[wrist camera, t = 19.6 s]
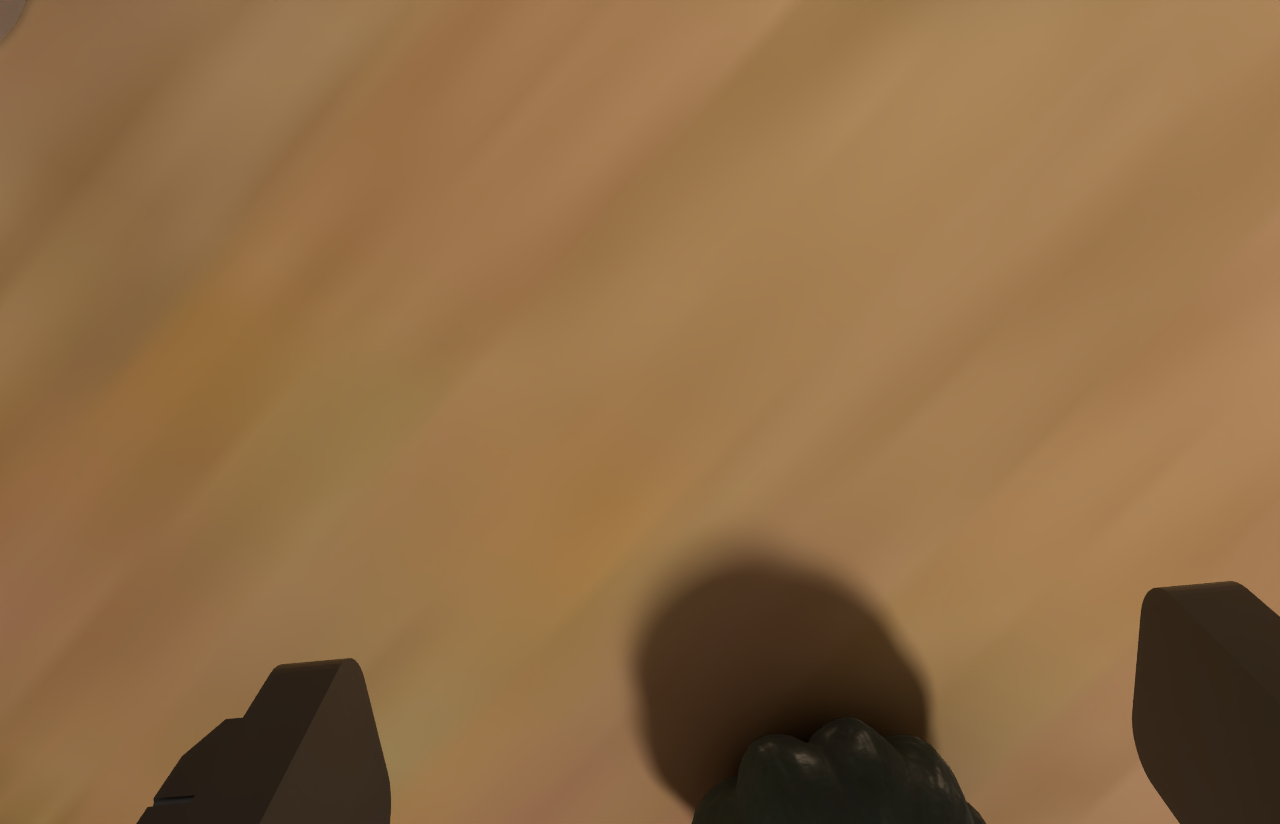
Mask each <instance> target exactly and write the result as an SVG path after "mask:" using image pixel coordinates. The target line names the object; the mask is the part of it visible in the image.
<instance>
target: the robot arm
mask: <svg viewBox="0 0 1280 824" xmlns="http://www.w3.org/2000/svg"><path fill="white" fill-rule="evenodd" d="M25 3H26V0H0V41H1V40H2V39H3V38H4V37H5V36H6V35H7V33H8V32H9V31H10V30H11V29H12V27H13V26H14V25H15V24H16V22H17V20H18V18H19V16H20V14H21V11H22V9H23V7H24V5H25ZM1132 727H1133V735H1134V740H1135V745H1136V748H1137V752H1138V755H1139V758H1140V761H1141V764H1142V766H1143V768H1144V771H1145V773H1146V775H1147V776H1148V778H1149V780H1150V782H1151V783H1152V785H1153V786H1154V788H1155V789H1156V791H1157V792H1158V793H1159V795H1160V796H1161V798H1162V799H1163V800H1164V802H1165V803H1166V805H1167V806H1168V807H1169V809H1170V810H1171V812H1172V813H1173V815H1174V816H1175V817H1176V819H1177V820H1178V822H1179V823H1180V824H1280V617H1279V616H1278V615H1277V614H1276V613H1275V612H1273V611H1272V610H1271V609H1270V608H1269V607H1268V606H1266V605H1265V604H1264V603H1263V602H1262V601H1261V600H1260V599H1258V598H1257V597H1256V596H1255V595H1254V594H1253V593H1251V592H1250V591H1249V590H1248V589H1247V588H1245V587H1244V586H1243V585H1241V584H1239V583H1237V582H1233V581H1226V582H1215V583H1204V584H1193V585H1182V586H1171V587H1160V588H1153V589H1151V590H1150V591H1149V592H1148V593H1147V594H1146V596H1145V598H1144V600H1143V604H1142V609H1141V617H1140V629H1139V641H1138V652H1137V664H1136V676H1135V687H1134V699H1133V710H1132ZM390 815H391V792H390V782H389V777H388V772H387V768H386V764H385V760H384V756H383V752H382V748H381V744H380V740H379V736H378V732H377V728H376V724H375V720H374V716H373V712H372V707H371V703H370V699H369V695H368V691H367V687H366V683H365V679H364V676H363V673H362V670H361V668H360V666H359V664H358V663H357V662H356V661H355V660H354V659H352V658H347V659H336V660H325V661H314V662H303V663H292V664H281V665H279V666H277V667H276V668H275V669H273V671H272V672H271V673H270V675H269V677H268V678H267V680H266V681H265V683H264V685H263V686H262V688H261V689H260V691H259V693H258V694H257V696H256V697H255V699H254V701H253V702H252V704H251V706H250V707H249V709H248V710H247V712H246V714H245V715H244V717H243V718H235V719H226V720H224V721H223V722H222V723H221V724H220V725H219V726H217V727H216V728H215V729H214V730H213V731H211V732H210V733H209V734H208V735H207V736H206V737H204V738H203V739H202V740H201V741H200V742H198V743H197V744H196V745H195V746H194V747H192V748H191V749H190V750H189V751H188V752H187V753H185V754H184V755H183V756H182V757H181V759H180V760H179V762H178V763H177V764H176V766H175V767H174V769H173V770H172V772H171V773H170V775H169V776H168V778H167V779H166V781H165V782H164V784H163V785H162V787H161V788H160V790H159V791H158V793H157V794H156V796H155V797H154V805H153V807H147V809H146V810H145V812H144V813H143V815H142V816H141V818H140V819H139V821H138V822H137V824H390Z"/></svg>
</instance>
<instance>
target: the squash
mask: <svg viewBox="0 0 1280 824" xmlns="http://www.w3.org/2000/svg"><path fill="white" fill-rule="evenodd" d="M692 824H986V823H985V821H984V820H983V818H982V817H981V815H980V814H979V812H978V811H976V810H975V809H974V808H973V807H972V806H971V805H970V804H969V803H968V802H966V800H965V797H964V795H963V793H962V791H961V788H960V786H959V784H958V782H957V780H956V777H955V775H954V774H953V772H952V770H951V769H950V767H949V766H948V765H947V763H946V762H945V761H944V760H943V759H942V757H941V756H940V755H939V754H938V753H937V752H936V750H935V749H934V748H933V747H932V746H931V745H930V744H928V743H927V742H925V741H924V740H922V739H921V738H918V737H915V736H911V735H905V734H900V735H893V736H887V737H882V736H881V735H880V734H879V733H877V732H876V731H875V730H874V729H873V728H871V727H870V726H868V725H867V724H865V723H864V722H862V721H861V720H859V719H856V718H853V717H845V718H840V719H835V720H833V721H831V722H829V723H827V724H825V725H824V726H823V727H822V728H820V729H819V730H818V731H816V732H815V733H814V734H813V735H812V737H811V738H810V740H809V741H808V742H807V743H806V742H803V741H801V740H799V739H797V738H795V737H793V736H789V735H785V734H769V735H766V736H762V737H760V738H759V739H757V740H755V741H753V742H752V743H751V744H750V746H749V747H748V749H747V750H746V752H745V754H744V755H743V757H742V760H741V763H740V765H739V771H738V776H735V777H732V778H728V779H725V780H723V781H721V782H720V783H718V784H717V785H715V786H714V787H713V788H712V789H711V790H710V791H709V792H708V793H707V794H706V795H705V796H704V798H703V799H702V801H701V802H700V804H699V806H698V807H697V809H696V811H695V814H694V818H693V821H692Z"/></svg>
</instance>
